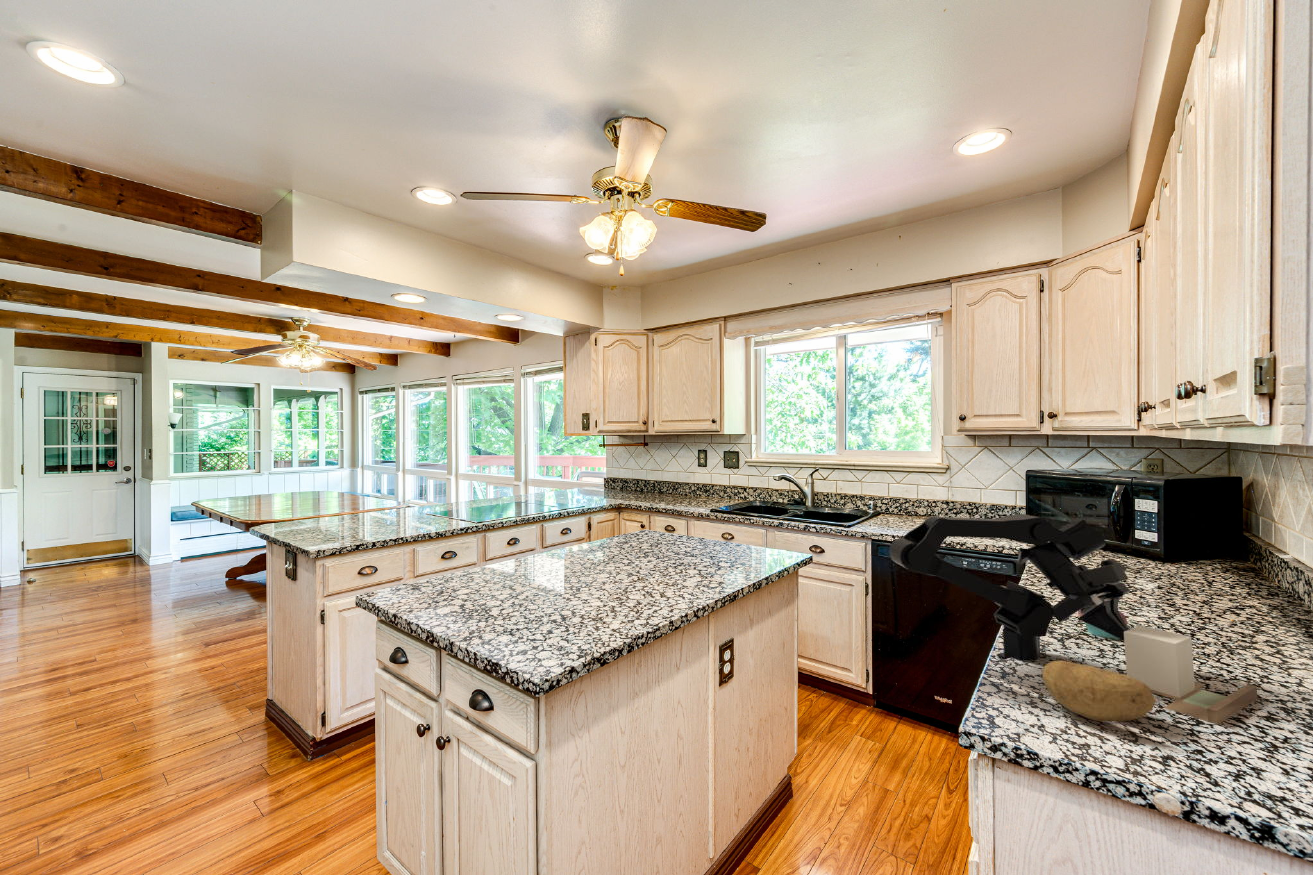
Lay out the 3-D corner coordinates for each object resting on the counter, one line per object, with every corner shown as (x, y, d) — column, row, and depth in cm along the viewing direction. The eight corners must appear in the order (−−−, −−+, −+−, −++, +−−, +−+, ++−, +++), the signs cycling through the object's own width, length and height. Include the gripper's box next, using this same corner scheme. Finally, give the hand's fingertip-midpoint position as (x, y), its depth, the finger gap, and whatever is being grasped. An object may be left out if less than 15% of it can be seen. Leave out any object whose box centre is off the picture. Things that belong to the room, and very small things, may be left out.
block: (1127, 682, 94) (1123, 631, 94) (1143, 674, 96) (1139, 625, 97) (1179, 697, 87) (1175, 643, 88) (1194, 689, 90) (1191, 636, 90)
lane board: (1097, 691, 93) (1096, 674, 93) (1141, 671, 100) (1140, 655, 100) (1217, 731, 79) (1216, 711, 79) (1258, 704, 86) (1256, 686, 86)
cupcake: (1138, 645, 112) (1134, 589, 113) (1093, 644, 114) (1089, 589, 114) (1112, 631, 121) (1109, 579, 121) (1070, 630, 122) (1067, 579, 123)
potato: (1158, 746, 76) (1154, 690, 76) (1039, 715, 86) (1036, 666, 86) (1157, 719, 83) (1154, 668, 83) (1048, 693, 93) (1045, 648, 93)
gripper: (1067, 551, 97) (1148, 628, 86) (1114, 540, 105) (1193, 609, 95) (1023, 585, 103) (1093, 660, 93) (1071, 572, 112) (1140, 640, 102)
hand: (1132, 641), depth 96 cm, fingers closed, pressing on block
